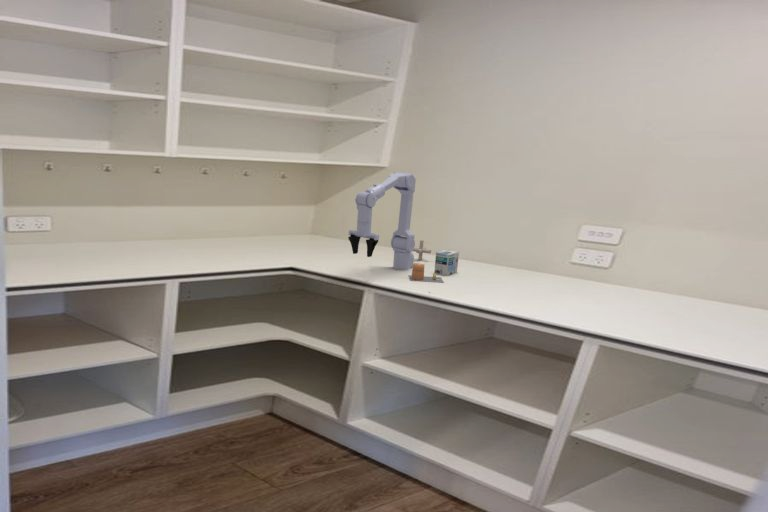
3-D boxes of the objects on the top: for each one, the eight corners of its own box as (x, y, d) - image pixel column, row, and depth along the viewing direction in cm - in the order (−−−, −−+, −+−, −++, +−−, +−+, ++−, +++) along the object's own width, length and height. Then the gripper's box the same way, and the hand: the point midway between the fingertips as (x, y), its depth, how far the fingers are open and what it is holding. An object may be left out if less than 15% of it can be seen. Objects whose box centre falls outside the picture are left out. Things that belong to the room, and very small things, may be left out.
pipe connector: (407, 260, 263) (409, 240, 261) (414, 257, 272) (415, 238, 270) (426, 263, 259) (428, 243, 257) (432, 259, 268) (434, 240, 266)
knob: (412, 279, 216) (413, 264, 215) (411, 276, 220) (412, 262, 219) (423, 280, 216) (425, 265, 215) (422, 277, 221) (423, 263, 220)
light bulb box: (447, 278, 228) (449, 254, 225) (433, 276, 231) (435, 252, 229) (457, 275, 236) (459, 251, 234) (443, 272, 240) (446, 249, 238)
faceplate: (409, 283, 213) (410, 275, 213) (408, 278, 223) (408, 270, 223) (443, 285, 214) (444, 277, 213) (440, 280, 224) (441, 272, 223)
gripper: (344, 220, 212) (342, 253, 215) (371, 224, 204) (369, 259, 206) (355, 219, 218) (353, 251, 220) (383, 223, 209) (380, 257, 212)
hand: (362, 255), depth 214 cm, fingers open, 7 cm apart
